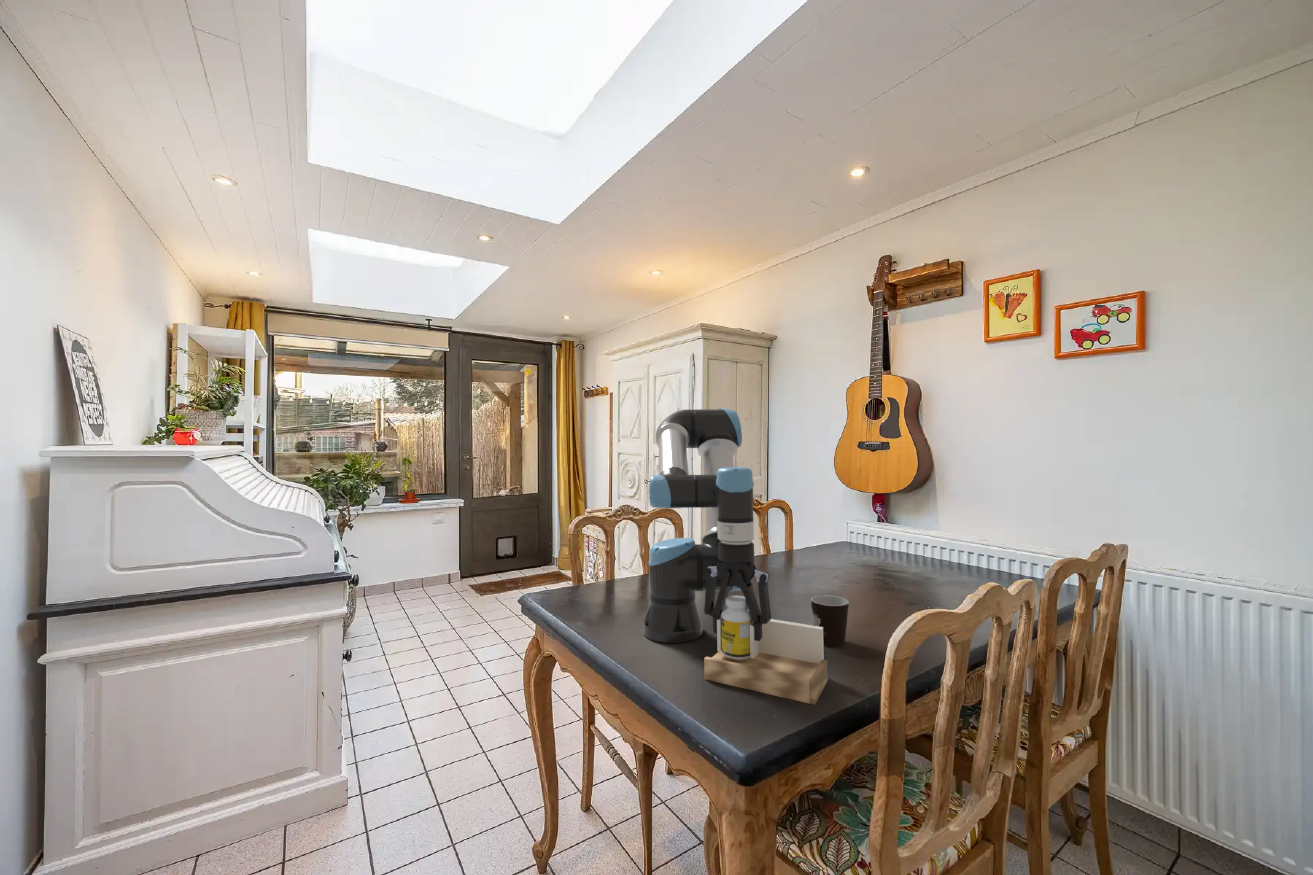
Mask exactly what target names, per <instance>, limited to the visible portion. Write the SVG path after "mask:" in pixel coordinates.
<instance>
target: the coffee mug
mask: <svg viewBox="0 0 1313 875" xmlns="http://www.w3.org/2000/svg"><path fill="white" fill-rule="evenodd" d="M810 602H811V603H810V605H811V610H812V617H813V624H814V625H813V626H818V627H823V647H825V648H835V649H837V648H842V647H845V643H846V635H847V625H848V624H847V623H848V614H849V604H850V601H849V600H848V599H847V598H844V597H841V596H837V595H831V594H830V595H828V594H826V595H823V594H822V595H814V596H812V597H811V598H810Z"/></svg>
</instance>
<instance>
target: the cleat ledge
mask: <svg viewBox="0 0 1313 875" xmlns="http://www.w3.org/2000/svg"><path fill="white" fill-rule="evenodd" d="M703 660H704V661H703V665H704V667H703V668H704V669H703V670H704V672H703V673H704V680H706V681H711V682H715V683H719V684H724V685H727V686H731V687H736V688H741V689H746V690H749V691H754V692H759V693H762V694H766V695H771V696H776V697H780V698H784V699H788V700H793V701H796V702H801V703H806V704H810V705H814V706H815V705H816V704H817V702H818V700H819V698H820V696H821V694H822V692H823V690H824V689H825V686H826V684H827V682H828V681H829V680H828V660H827V659H824V660H822V661H821V662H820V664H817V663H812V662H807V661H801V660H796V659H791V658H786V657H781V656H776V655H770V654H765V653H760V652H758V654H757V655H756V656H755V658H747V659H743V660H735V659H730V658H728V657H726V656H724V654H723V653H722V651H721V652H719V651H717V652H716V653H715V654H714V655H713V656H711V657H710V656H705V657H704V658H703Z"/></svg>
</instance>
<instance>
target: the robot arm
mask: <svg viewBox="0 0 1313 875" xmlns="http://www.w3.org/2000/svg"><path fill="white" fill-rule="evenodd" d="M742 442H743V434H742V424H741V420H740V417H739V414H738V413H737V412H736V411H735V410H734V409H730V408H729V409H728V408H727V409H726V408H718V409H717V408H715V409H711V408H710V409H701V408H700V409H682V410H678V411H675V412H674V413H671V414H670V415H669V416H666V417H665V418H664V419H663V420H662V421H661V423H660V424H659V425H658V427H657V430H656V432H655V443H656V446H657V447H658V467H657V468H658V469H657V474H656V475H651V476H650V478H649V479H648V480H649V481H648V484H649V485H648V487H649V488H648V493H649V494H648V495H649V496H648V498H649V500H648V501H649V505H650V506H651V507H652V508H658V509H665V510H667V509H686V508H687V509H688V508H689V509H690V508H691V509H692V508H694V509H696V508H697V509H698V508H700V509H701V508H702V509H704V508H705V510H706V511H705V512H706V514H705V515H706V528H707V529H706V534H704V535H703V536H702V537H701V544H700V543H698V544H696V542H695V539H693V538H692V537H676V538H670V539H666V540H661V541H658V542H656V543H654V544H652V546H651V547H650V549H649V559H648V560H649V561H648V566H649V603H648V608H647V610H646V614H645V615H644V616H645V617H644V620H643V624H642V628H643V630H642V631H643V635H644V637H645V638H647V639H650V640H652V641H655V642H659V643H664V644H665V643H666V644H667V643H668V644H678V643H688V642H692V641H694V640H697V639H699V638H701V637H702V635H703V632H704V630H703V629H704V627H703V621H702V618H701V614H700V612H699V609H698V605H697V602H696V592H705V593H704V594H705V595H704V608H703V609H704V612H703V613H704V614H705V615H709V616H710V617H712V627H713V628H712V630H713V634H716V641H717V642H716V643H717V646H716V648H717V652H718V651H719V652H721V651H722V620H721V615H722V612H723V610H724V608H725V606H726V597H728V596H729V592H731V593H733V592H738V591H739V592H742V593H743V596H744V597H745V599H746V602H747V605H748V607H747V609H748V610H749V612H750V615H751V618H752V621H753V623H752V624H751V625H750V658H755V656H756V655H757V654H758V641H760V640H761V639H762V624H767V623H768V622H769V621H770V620H771V619H772V613H771V603H770V594H769V579H770V573H769V572H768V571H765V572H763V571H760V570H758V569H757V567H756V565H755V543H754V542H753V541H754V540H755V530H754V525H755V524H754V486H755V484H754V479H753V471H752V469H751V468H750V467H743V466H736V467H735V466H734V465H735V463H734V455H736V453H737V452H738V449H739V448H740V447H741V445H742V444H743V443H742ZM687 449H697V454H698V456H699V457H701V458H702V459H703V474H690V473H689V464H688V463H689V462H688V451H687ZM754 578H755V579H756V582H757V583H758V585H757V586H758V600H759V604H758V601H757V598H756V595H755V592H754V590H753V589H754V587H753V583H752V582H753V579H754ZM716 592H718V596H717V599H716V597H715V596H716ZM715 600H716V602H715ZM759 606H760V607H759Z"/></svg>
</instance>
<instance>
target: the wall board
mask: <svg viewBox="0 0 1313 875" xmlns="http://www.w3.org/2000/svg"><path fill="white" fill-rule="evenodd" d="M824 647H825V646H823V627H818V626H814V625H810V624H805V623H799V622H792V621H787V620H781V619H773V618H771V620H770V621H769V622H768V623H767V624H762V639H761V640H760V641H758V652H760V653H765V654H770V655H776V656H781V657H786V658H791V659H796V660H801V661H807V662H812V663H817V664H820V662H821V661H822V660H825V658H824V657H825V656H824V655H825V654H824V649H825V648H824Z"/></svg>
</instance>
